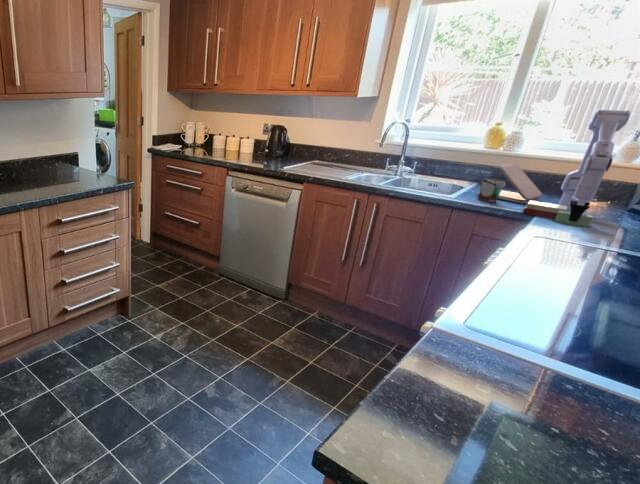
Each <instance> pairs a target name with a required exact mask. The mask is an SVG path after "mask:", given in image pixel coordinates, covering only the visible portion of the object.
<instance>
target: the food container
mask: <svg viewBox="0 0 640 484" xmlns="http://www.w3.org/2000/svg"><path fill="white" fill-rule="evenodd" d="M505 187H506V181H503V180H499V179H495V178H487V177H485V178H484V177H483V178H482V180H481V185H480V188H479V191H478V193H479V195H477V197H476V198H477V200H480V201H482V202H484V203H486V204H496V203H497V201H498V199H497V198H498V196H499V194H500V192H501V190H503V188H505Z"/></svg>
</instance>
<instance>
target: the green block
mask: <svg viewBox="0 0 640 484" xmlns="http://www.w3.org/2000/svg"><path fill="white" fill-rule="evenodd" d="M570 213H571V212H567V211H561V210H559V211H558V214H557V216H556V218H555V219H554V222H555V223H560V224H561V223H562V224H567V225H572V226H578V227H585V228H589V227H590V225H591V223H592V222H593V220H594V219H593V218H594V216H593V215H591V214H585V213H583V214H582V215H581V216H580V218H579V219H578V220H577V221H576V222H574V221H569V217H570Z"/></svg>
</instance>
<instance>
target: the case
mask: <svg viewBox="0 0 640 484" xmlns="http://www.w3.org/2000/svg"><path fill="white" fill-rule="evenodd" d="M499 169H500V172H501V173H502V174H503V175H504V177H505V178H506V179H507V181H508V182H509V183H510V184H511V186H512V187H513V188H514V190H516V192H515V191H514V192H513V191H511V190H503V189H502V190H501V192H500V194H499V196H498V198H497V200H501V201H506V202H512V203H516V204H528V202H529V200H532V201H539V200H540V198H541V197H543V193H542V191H541V190H540V189H539V188H538V187H537V186H536V184H534V182H533V181H532V180H531V178H529V176H528V175H527V174H526V173H525V172H524V170H523V169H522V168H521V167H520V166H519V165H518V164H516V163H511V164H509V163H508V164H505V165H501V166H500V167H499ZM476 195H477V196H478V195H479V192H477V193H476Z"/></svg>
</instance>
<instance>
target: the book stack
mask: <svg viewBox="0 0 640 484" xmlns="http://www.w3.org/2000/svg"><path fill="white" fill-rule="evenodd" d="M559 210H561V211H566V210H567V206H564V205H558V204H557V203H550V202H543V201H539V200H536V201H532V200H529V202H528V203H526V205H525V207H524V209H523V212H522V214H523V215H530V216H536V217H541V218H546V219H547V218H548V219H552V220H553V219H554V220H555V218H556V216H557V214H558V211H559Z"/></svg>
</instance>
